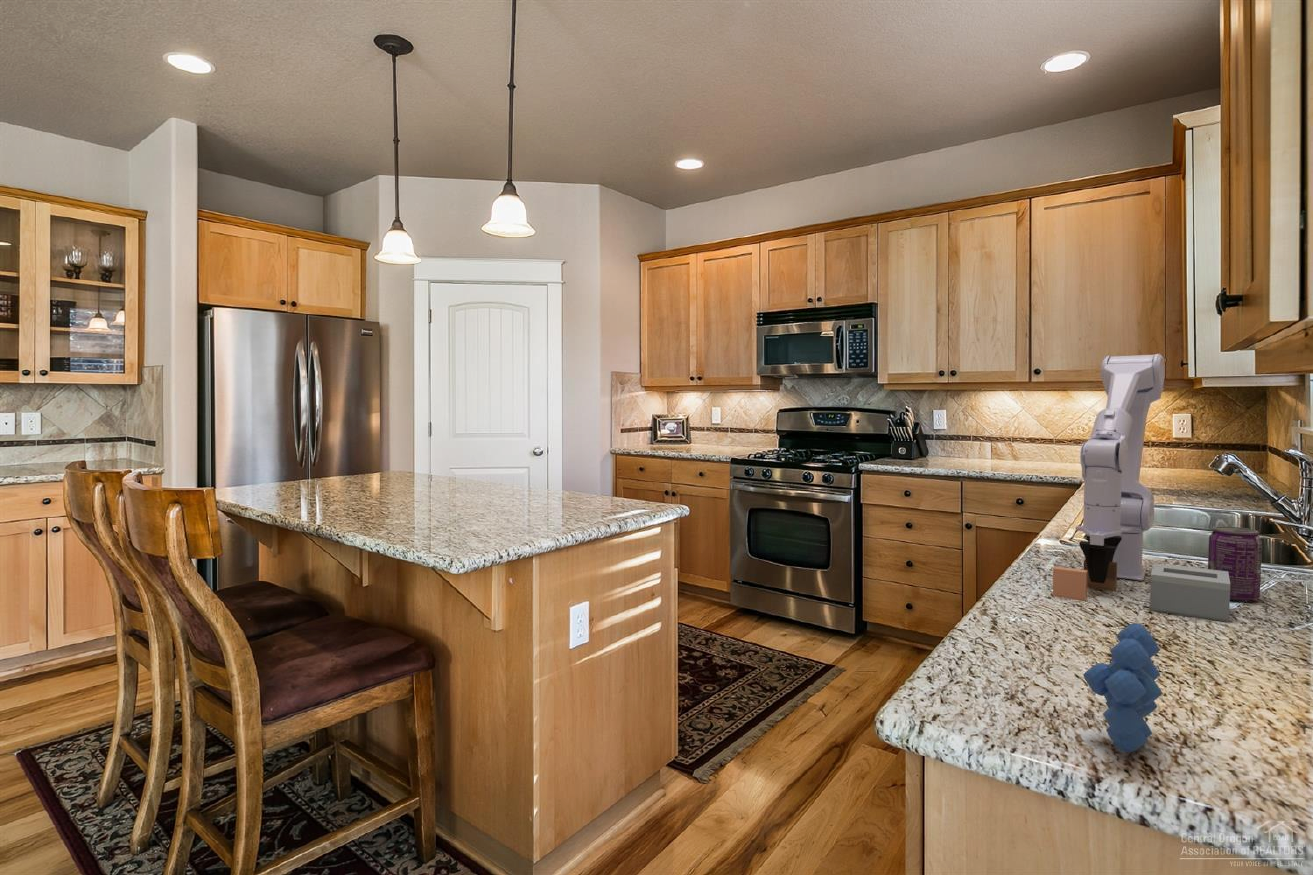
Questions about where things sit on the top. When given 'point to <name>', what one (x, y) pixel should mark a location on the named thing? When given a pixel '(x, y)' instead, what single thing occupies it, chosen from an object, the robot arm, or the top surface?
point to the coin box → (1190, 592)
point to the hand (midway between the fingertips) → (1099, 578)
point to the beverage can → (1237, 559)
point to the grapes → (1128, 687)
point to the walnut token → (1110, 580)
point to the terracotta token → (1070, 583)
